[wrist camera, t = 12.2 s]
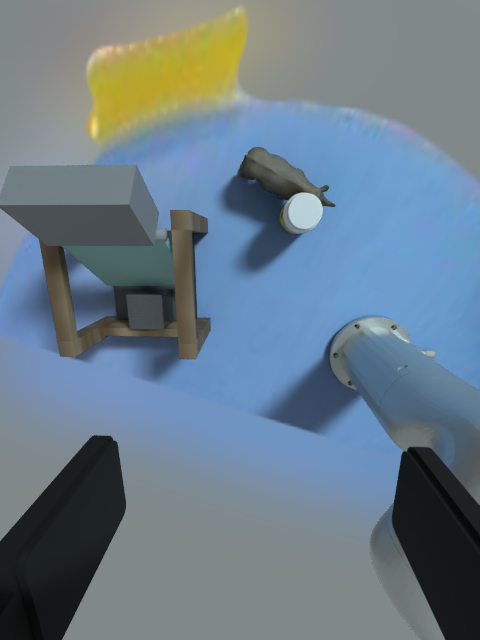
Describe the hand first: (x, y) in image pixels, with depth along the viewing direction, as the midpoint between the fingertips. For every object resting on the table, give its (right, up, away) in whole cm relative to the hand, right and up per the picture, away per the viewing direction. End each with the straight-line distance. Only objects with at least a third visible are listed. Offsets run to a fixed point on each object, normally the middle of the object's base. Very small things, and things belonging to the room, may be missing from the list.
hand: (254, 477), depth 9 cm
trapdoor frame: (-14, +12, +35) cm, 39 cm away
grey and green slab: (-14, +15, +24) cm, 32 cm away
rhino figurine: (+6, +24, +31) cm, 39 cm away
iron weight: (-14, +9, +32) cm, 36 cm away
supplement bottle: (+7, +20, +32) cm, 38 cm away
